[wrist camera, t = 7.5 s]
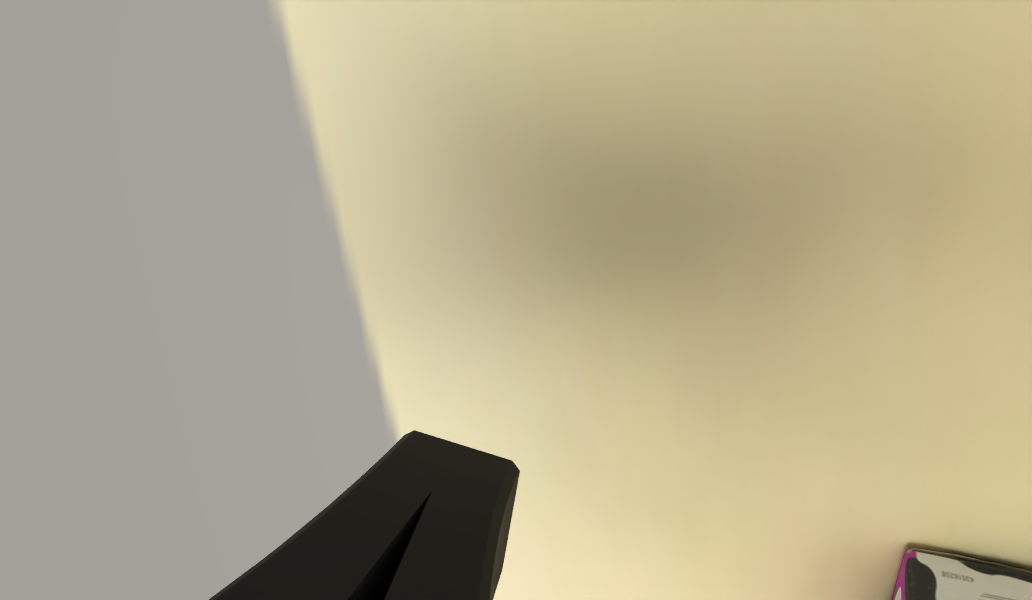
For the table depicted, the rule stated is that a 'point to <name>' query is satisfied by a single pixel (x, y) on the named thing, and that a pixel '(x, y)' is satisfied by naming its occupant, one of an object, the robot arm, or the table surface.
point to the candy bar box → (959, 578)
